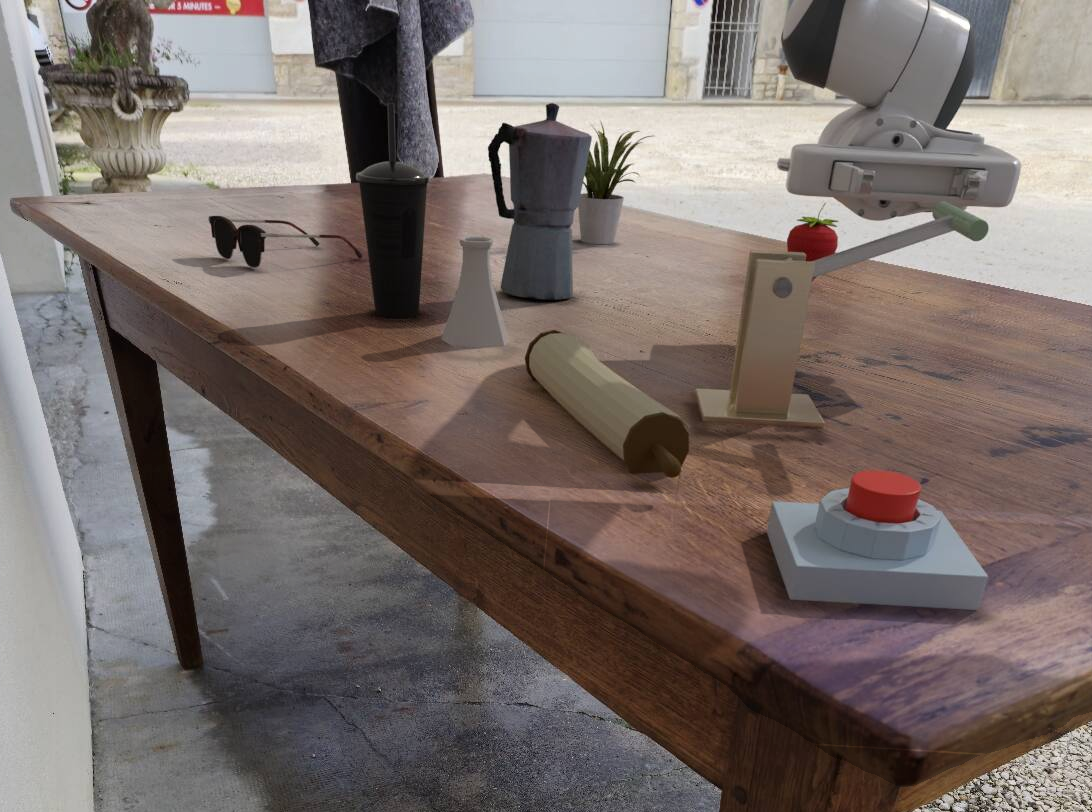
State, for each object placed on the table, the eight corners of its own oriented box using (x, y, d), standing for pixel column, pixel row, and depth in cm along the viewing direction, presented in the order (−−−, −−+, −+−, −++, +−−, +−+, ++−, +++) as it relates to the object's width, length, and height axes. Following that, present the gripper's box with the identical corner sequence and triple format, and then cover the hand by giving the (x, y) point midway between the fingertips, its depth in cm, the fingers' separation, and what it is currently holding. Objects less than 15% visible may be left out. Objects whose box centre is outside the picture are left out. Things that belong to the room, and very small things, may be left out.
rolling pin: (512, 376, 97) (514, 320, 95) (569, 374, 99) (572, 318, 96) (636, 504, 72) (643, 433, 69) (709, 499, 74) (719, 428, 71)
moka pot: (606, 294, 129) (620, 105, 118) (520, 311, 120) (526, 107, 108) (550, 281, 134) (558, 99, 123) (463, 296, 125) (463, 101, 113)
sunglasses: (210, 254, 140) (207, 213, 137) (313, 251, 150) (312, 213, 147) (263, 272, 132) (261, 228, 129) (368, 268, 142) (368, 227, 139)
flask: (443, 356, 102) (442, 245, 96) (436, 338, 108) (435, 232, 102) (515, 356, 103) (519, 246, 98) (505, 338, 109) (508, 233, 103)
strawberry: (806, 280, 142) (821, 198, 136) (839, 292, 136) (856, 206, 130) (769, 282, 140) (783, 198, 134) (801, 293, 134) (816, 207, 128)
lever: (951, 223, 85) (948, 191, 84) (990, 244, 77) (987, 209, 75) (755, 289, 88) (749, 260, 87) (772, 316, 80) (766, 284, 79)
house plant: (657, 238, 166) (669, 118, 156) (645, 252, 154) (657, 124, 145) (569, 231, 168) (576, 113, 159) (551, 244, 157) (557, 118, 147)
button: (903, 504, 64) (911, 472, 63) (920, 529, 61) (929, 496, 60) (839, 500, 65) (846, 468, 63) (852, 525, 61) (859, 492, 60)
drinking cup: (438, 308, 119) (436, 103, 108) (421, 323, 113) (417, 107, 102) (374, 303, 120) (365, 99, 109) (353, 317, 114) (342, 103, 102)
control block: (932, 541, 69) (948, 483, 67) (978, 610, 61) (998, 547, 58) (766, 532, 69) (776, 474, 67) (789, 600, 61) (802, 536, 59)
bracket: (805, 407, 93) (835, 251, 85) (822, 436, 86) (855, 269, 79) (693, 401, 93) (713, 244, 86) (701, 430, 86) (723, 262, 79)
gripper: (779, 122, 98) (804, 136, 87) (997, 134, 98) (1051, 149, 86) (768, 198, 101) (790, 220, 90) (978, 209, 101) (1027, 233, 90)
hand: (920, 185), depth 88 cm, fingers open, 8 cm apart
